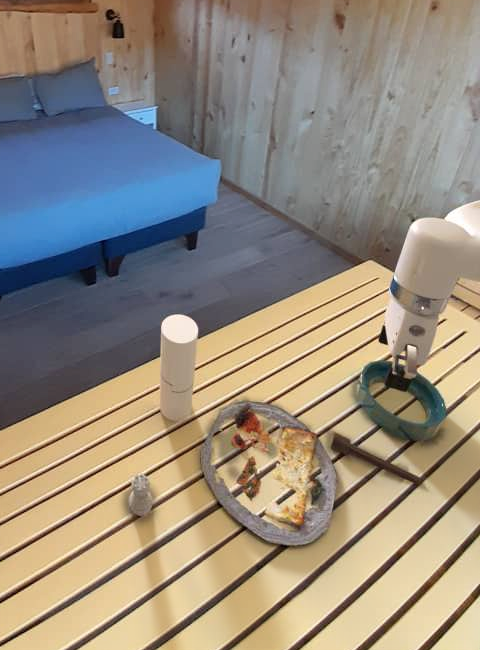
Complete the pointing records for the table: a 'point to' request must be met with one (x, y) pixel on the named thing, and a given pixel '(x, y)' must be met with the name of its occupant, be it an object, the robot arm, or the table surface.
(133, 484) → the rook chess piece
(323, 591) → the table surface
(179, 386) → the cylindrical container
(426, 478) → the table surface
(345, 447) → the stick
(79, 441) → the table surface
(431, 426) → the ring
